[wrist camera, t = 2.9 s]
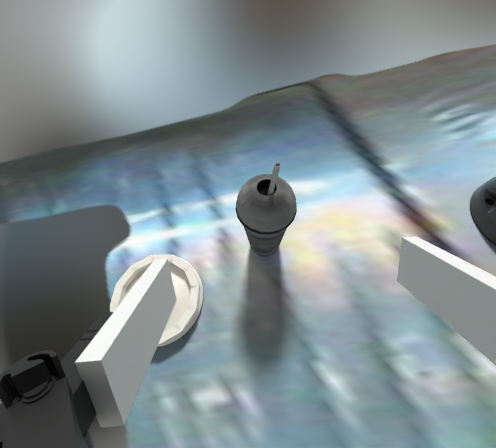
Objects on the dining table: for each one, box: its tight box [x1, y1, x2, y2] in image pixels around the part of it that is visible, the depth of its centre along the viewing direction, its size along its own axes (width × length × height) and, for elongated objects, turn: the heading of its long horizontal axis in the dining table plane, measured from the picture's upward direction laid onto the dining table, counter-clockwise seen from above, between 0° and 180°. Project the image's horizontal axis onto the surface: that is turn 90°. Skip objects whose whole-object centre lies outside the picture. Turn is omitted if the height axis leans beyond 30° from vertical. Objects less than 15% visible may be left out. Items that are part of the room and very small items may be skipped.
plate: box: [110, 255, 204, 347], centre depth 34 cm, size 13×13×2 cm
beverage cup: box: [236, 162, 297, 256], centre depth 30 cm, size 7×7×20 cm
